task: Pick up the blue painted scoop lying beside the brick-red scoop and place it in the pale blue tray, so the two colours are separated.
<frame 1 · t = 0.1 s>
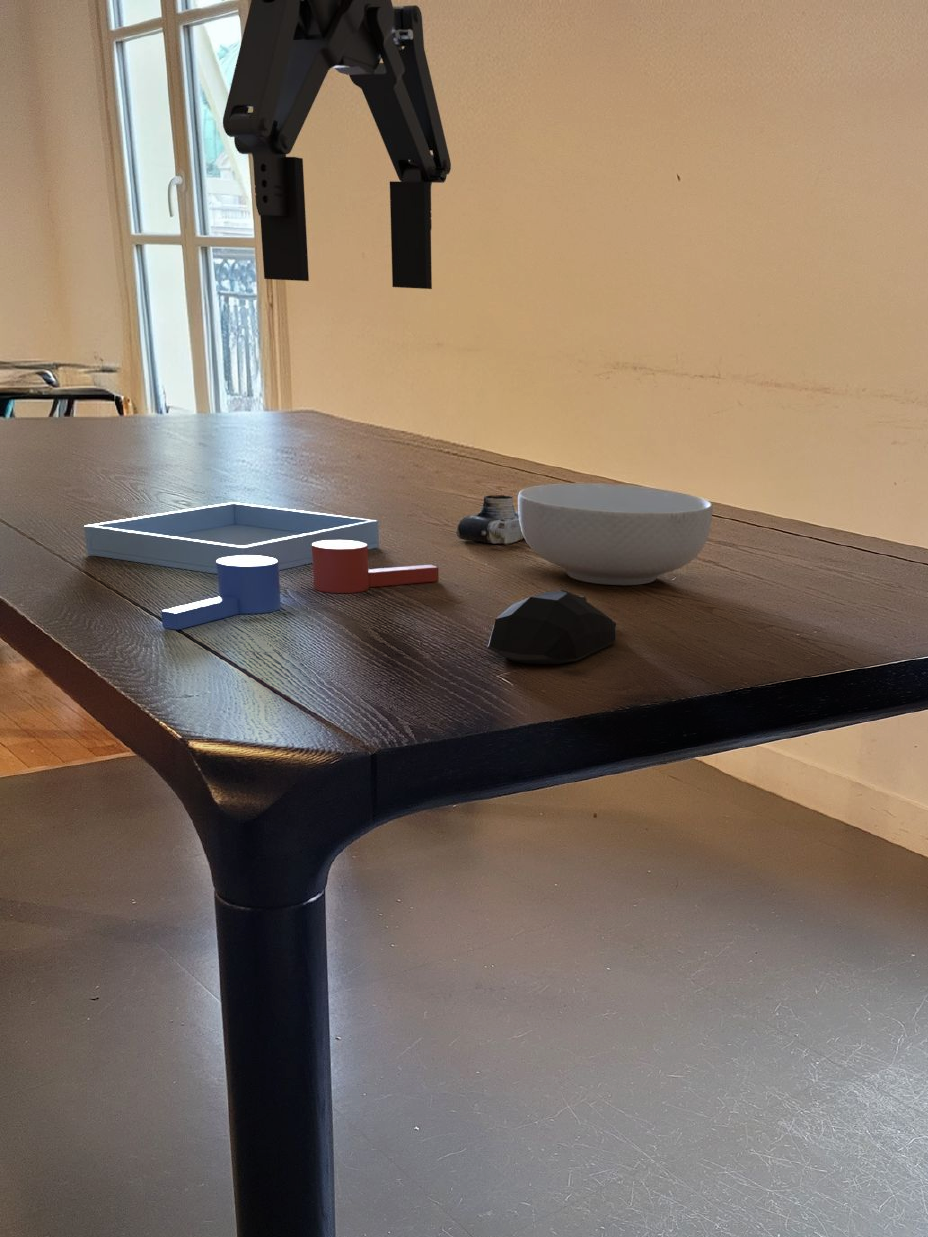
hand: (353, 285, 84), 23 cm above the table, tool pointing down, fingers open, 13 cm apart
blue tray: (239, 550, 118), on the table
blue scoop: (250, 607, 97), on the table
black faceted rock: (565, 648, 91), on the table
cereal bowl: (612, 579, 115), on the table
red scoop: (341, 587, 105), on the table
camera: (502, 539, 132), on the table
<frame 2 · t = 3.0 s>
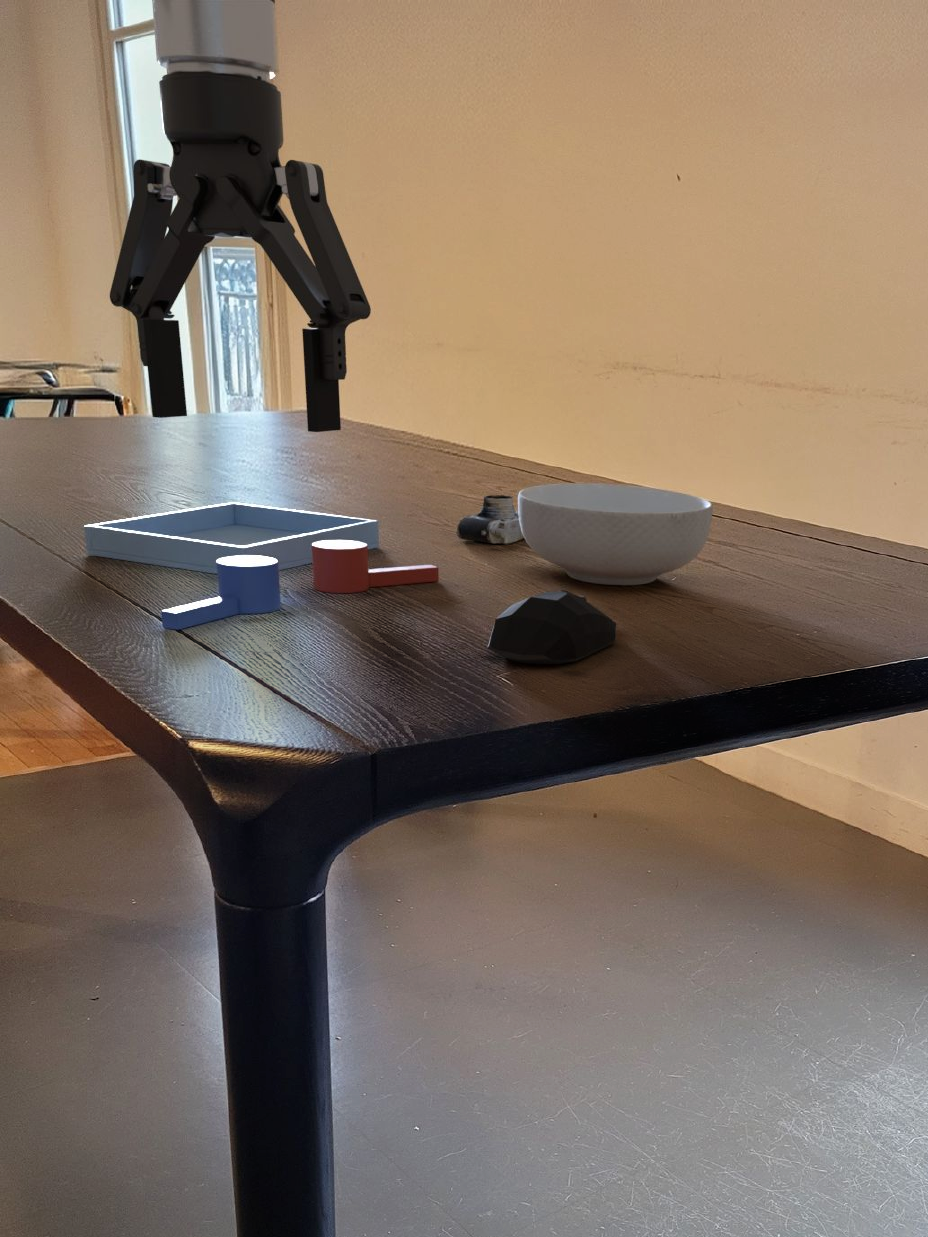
hand: (245, 424, 92), 13 cm above the table, tool pointing down, fingers open, 13 cm apart
nothing on the table moved.
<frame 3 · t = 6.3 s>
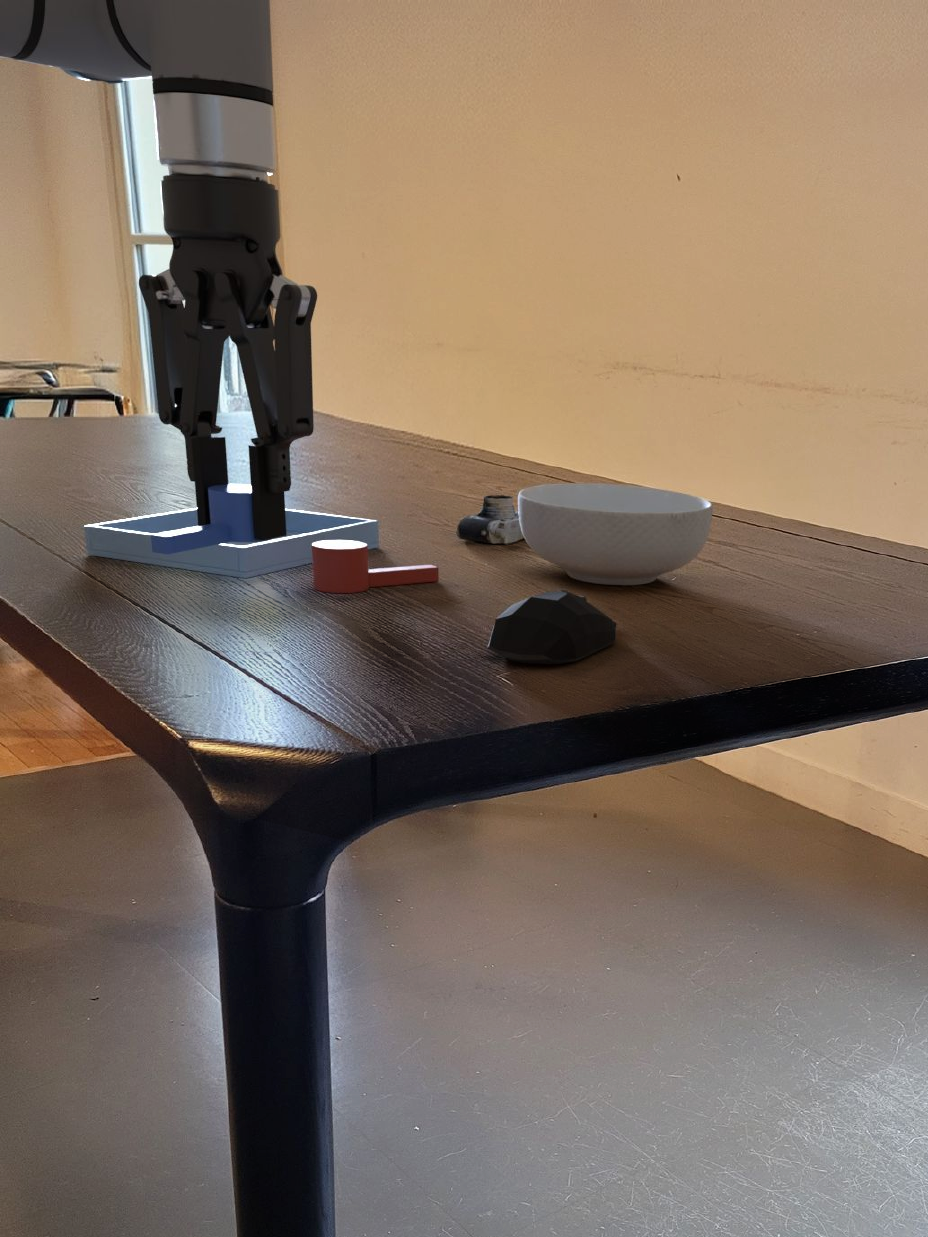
hand: (242, 532, 95), 6 cm above the table, tool pointing down, fingers closed on blue scoop, 4 cm apart
blue scoop: (242, 537, 95), point 5 cm above the table, touching gripper
everything else where it was.
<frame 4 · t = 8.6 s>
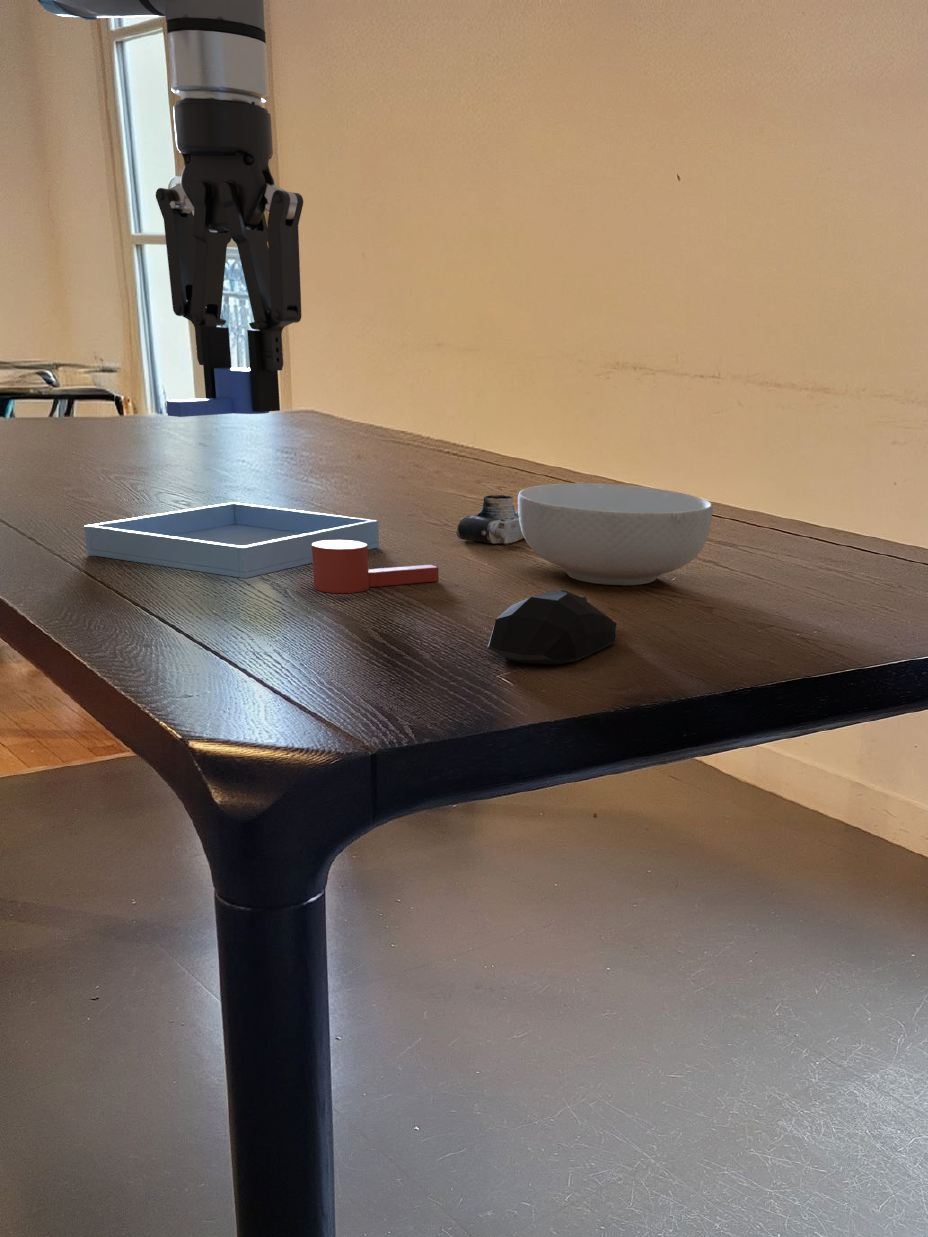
hand: (243, 408, 113), 12 cm above the table, tool pointing down, fingers closed on blue scoop, 4 cm apart
blue scoop: (243, 411, 113), point 12 cm above the table, touching gripper
everything else where it was.
when the fingers open (1 cm above the table, at t = 11.1 s): blue scoop stays where it is, resting on blue tray.
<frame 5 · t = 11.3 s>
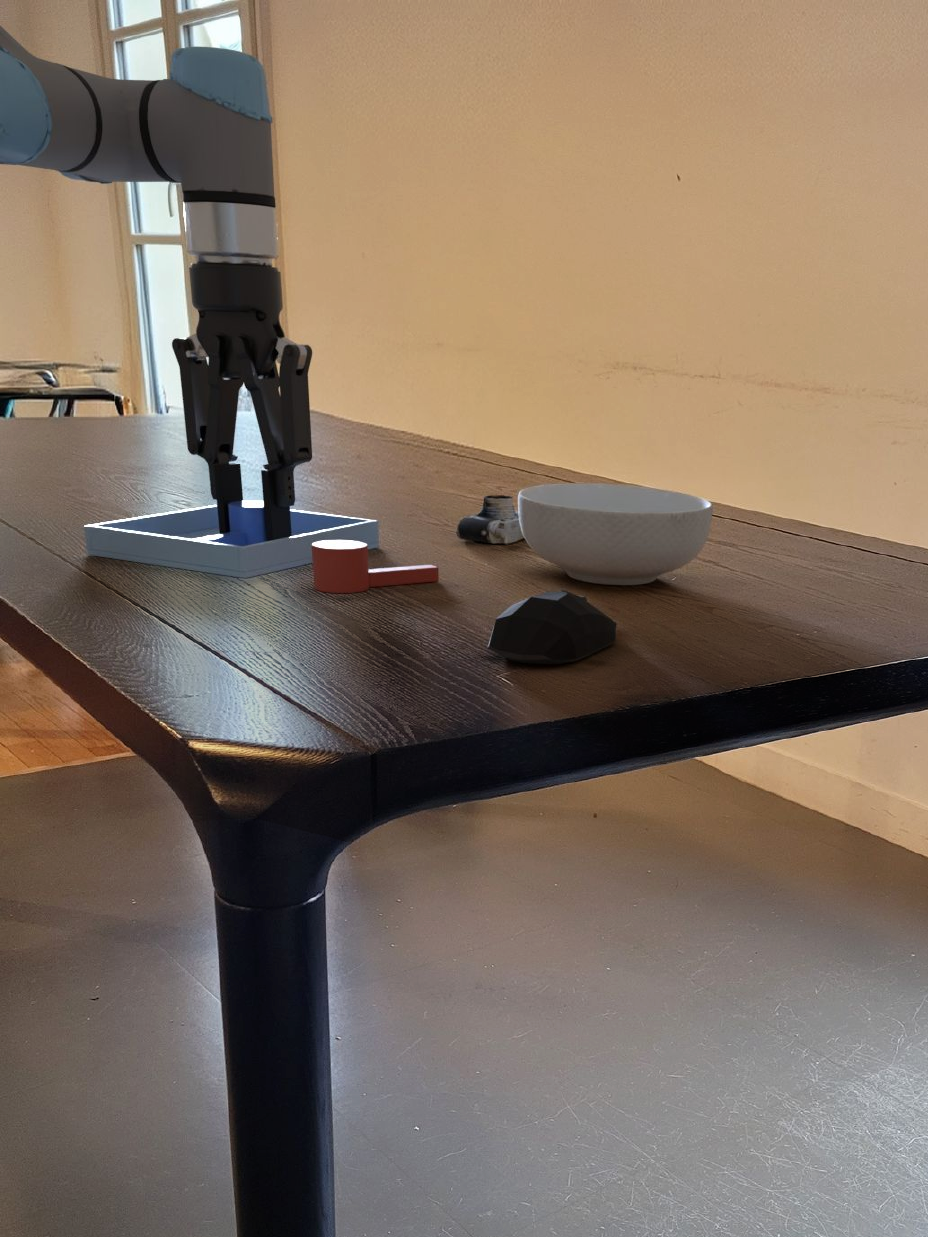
hand: (256, 539, 119), 1 cm above the table, tool pointing down, fingers open, 5 cm apart
blue scoop: (255, 542, 120), point 1 cm above the table, touching blue tray
everything else where it was.
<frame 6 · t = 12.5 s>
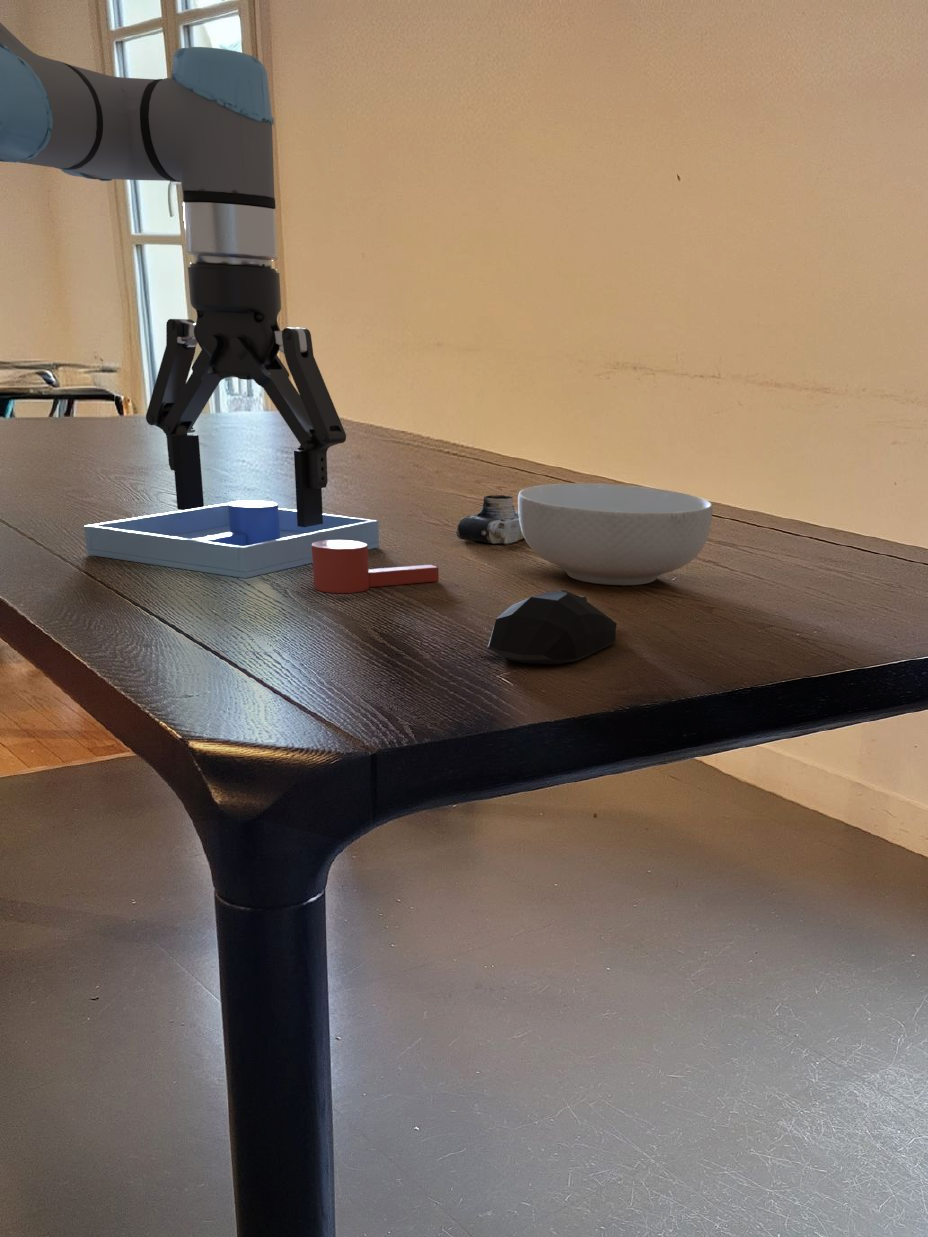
hand: (249, 517, 119), 3 cm above the table, tool pointing down, fingers open, 13 cm apart
nothing on the table moved.
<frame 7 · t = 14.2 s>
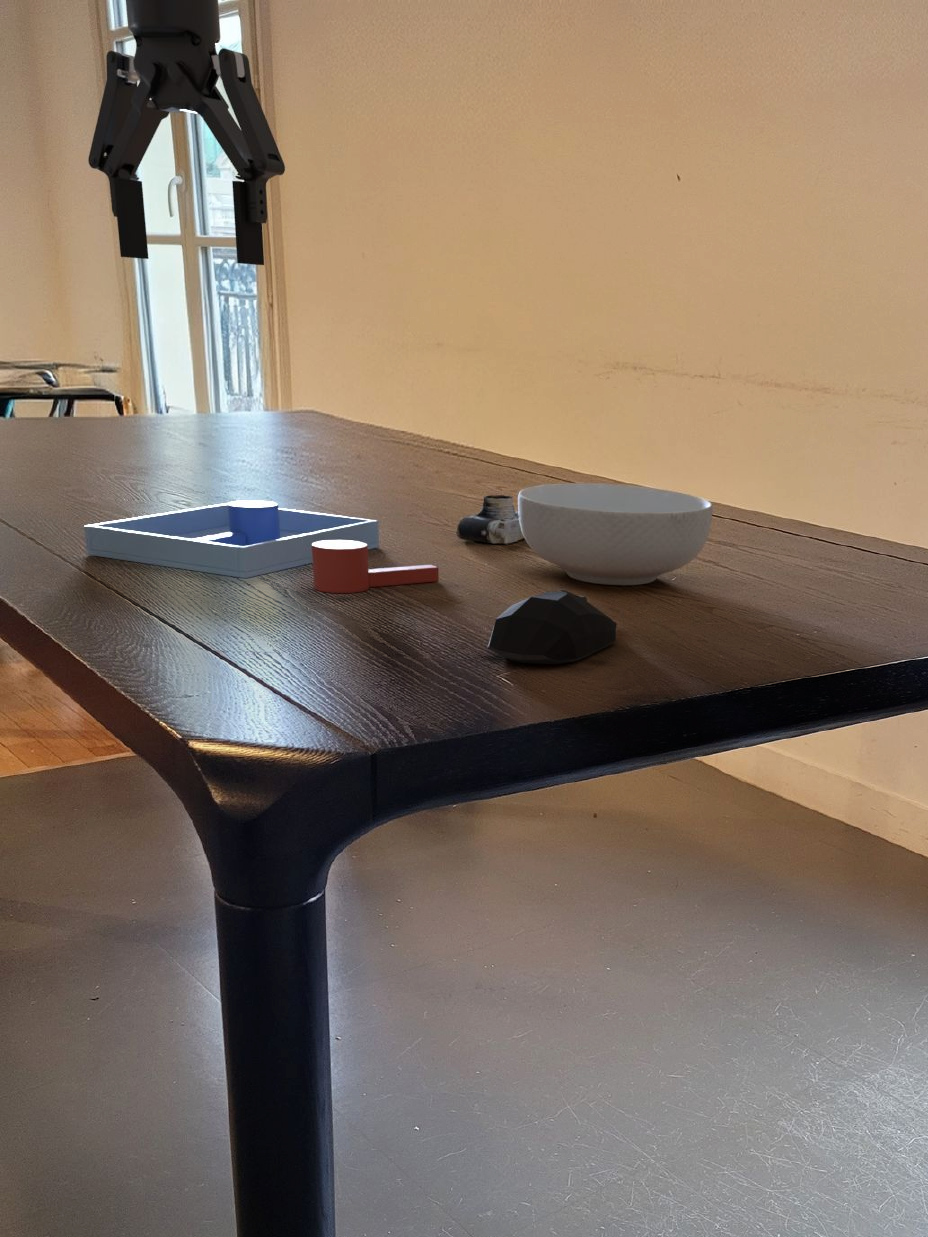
hand: (191, 261, 118), 24 cm above the table, tool pointing down, fingers open, 13 cm apart
nothing on the table moved.
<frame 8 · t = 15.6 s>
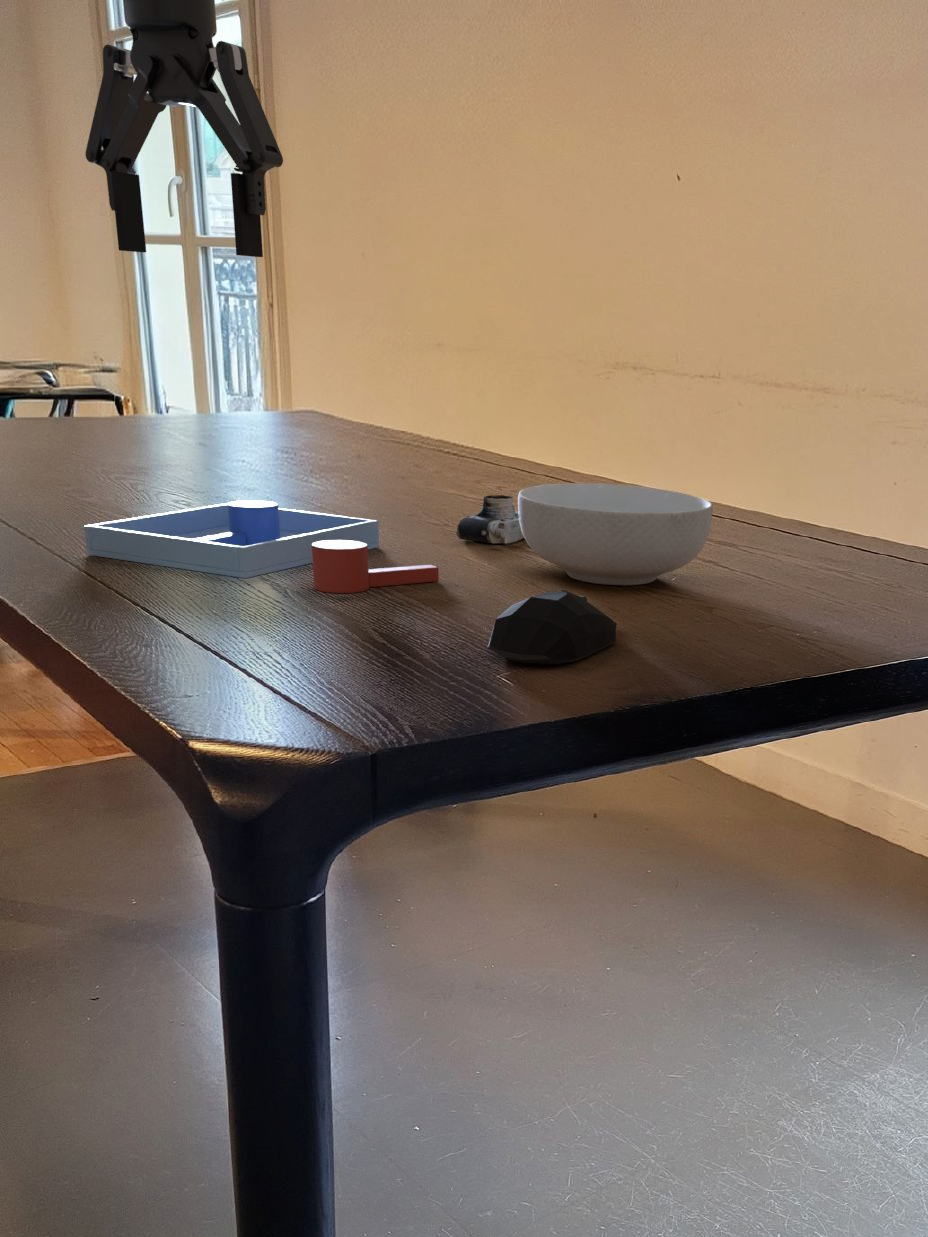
hand: (190, 254, 119), 25 cm above the table, tool pointing down, fingers open, 13 cm apart
nothing on the table moved.
at the end: blue scoop inside the target area in the blue tray (2.0 cm from its centre), point 0.5 cm above the blue tray's base; red scoop moved 0.0 cm from its start; the gripper is holding nothing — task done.
